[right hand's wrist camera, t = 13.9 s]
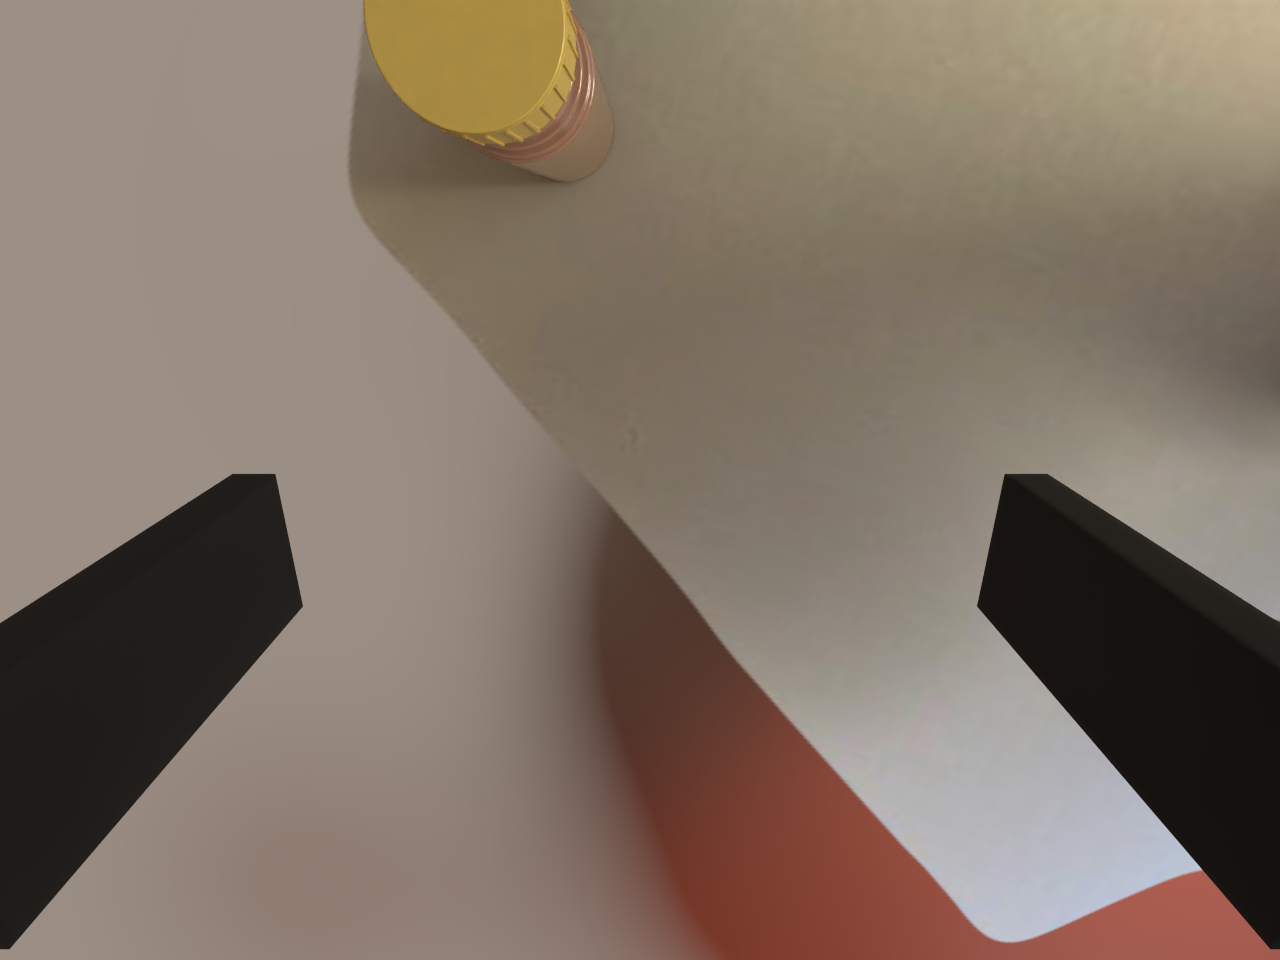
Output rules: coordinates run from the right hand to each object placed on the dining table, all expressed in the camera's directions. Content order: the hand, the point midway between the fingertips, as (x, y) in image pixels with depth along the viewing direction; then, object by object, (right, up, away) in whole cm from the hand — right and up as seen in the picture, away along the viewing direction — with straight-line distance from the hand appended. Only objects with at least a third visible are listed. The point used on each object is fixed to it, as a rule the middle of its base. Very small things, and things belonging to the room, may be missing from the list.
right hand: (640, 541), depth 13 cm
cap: (-4, +11, +2) cm, 12 cm away
